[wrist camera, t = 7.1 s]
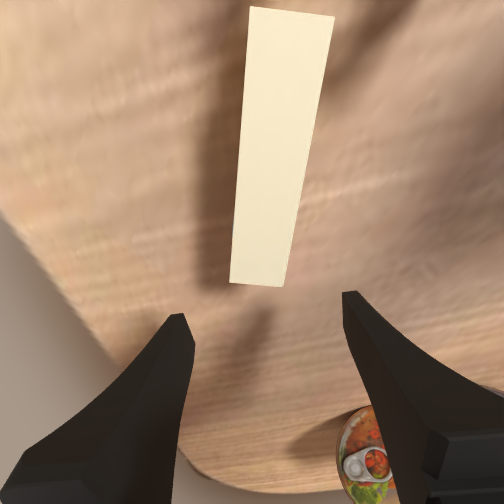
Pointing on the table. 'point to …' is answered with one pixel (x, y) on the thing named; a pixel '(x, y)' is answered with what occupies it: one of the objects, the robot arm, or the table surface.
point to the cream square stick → (275, 137)
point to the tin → (367, 459)
